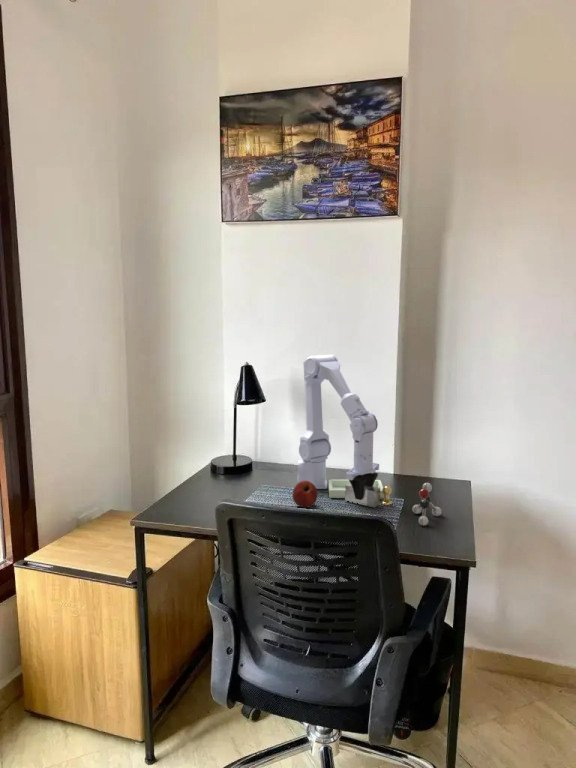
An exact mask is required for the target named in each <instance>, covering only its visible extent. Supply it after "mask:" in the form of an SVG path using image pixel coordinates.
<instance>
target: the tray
mask: <svg viewBox="0 0 576 768" xmlns="http://www.w3.org/2000/svg"><path fill="white" fill-rule="evenodd" d="M349 483H350V481H349V480H348V479H328V486H327V489H328V497H329V498H345V485H347V484H349ZM373 487H377V488H380V500H384V494H383V492H382V489H383V487H384V485H383V483H382V481H381V479H376V480H375V482H374V484H373Z"/></svg>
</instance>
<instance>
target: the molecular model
mask: <svg viewBox="0 0 576 768" xmlns="http://www.w3.org/2000/svg"><path fill="white" fill-rule="evenodd" d="M432 490H433V486H432V484H431V483H429V482H424V483H423V484H422V488H421V489H420V490H419V491H418V495H419V497H420V498H421V499H420V500H421V501H420V502H419V504H414V505H413V506H412V509H411V510H412V512H413V513H414V514H416V515H420V514H421V513H422V514H421V515H420V516H419V517H418V524H419V525H420V526H422V527H424V526H427V525H428V524H429V518H428V517H427V516H426V512H427V511H426V510H427V509H429V507H430V508H431V513H432V515H433V516H435V517H439V516H441V514H442V509H441V507H438V506H434V504H433V502H432V498H431V496H430V492H431V491H432Z"/></svg>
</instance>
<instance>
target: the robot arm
mask: <svg viewBox="0 0 576 768" xmlns="http://www.w3.org/2000/svg"><path fill="white" fill-rule="evenodd" d="M340 369H341V362H339V359H338V358H337V356H336V355H334V354H331V353H330V354H324V355H310V356H308V357H307V358H306V359H305V360H304V362H303V383H304V402H305V403H304V404H305V405H304V406H305V425H306V426H305V427H306V428H305V429H306V430H305V432H304V433H303V434H302V435H301V436H300V438H299V446H298V454H299V456H300V458H301V459H298V461H297V465H298V466H297V468H298V469H297V478H296V480H297V484H298V483H299V482H301V481H309V482H311V483H312V484H314V486H315V487H316V489H317V490H318V489H319V490H326V489H328V481H327V478H326V477H327V475H326V474H327V473H326V471H327V465H326V464H327V460H328V457H329V456H330V454H331V452H332V445H331V442H330V436H329V434H328V433H327V432H325V431H324V424H323V405H322V404H323V403H322V402H323V399H322V383H323V382H324V381H328V382H329V383H330V384H331V385H332V387H333V389H334V390H335V392H337V394H338V395H339V397H340V399H341V400H340V405H341V407H342V409H343V411H344V412H345V414H346V416H347V417H348V420H350V423H349V428H350V432H352V433H351V434H352V438H353V467H352V468H351V469H350V470H349V471H347V472H346V473H345V480H349V481H350V483H351V485H352V488H353V491H354V495H355V499H358V500H362V498H363V490H364V485H365V486H370V487H373V484H374V482H375V480H377V479H378V477H379V476H378V475H379V474H378V472H376V471H380V463H377V462H374V432H376V431H377V429H378V425H379V424H378V419H377V418H376V417H377V416H376V414H373V413H372V412H370V411H369V410H367V408H366V407H365V405H364V404H363V403H362V401H361V399H360V398H361V397H359V395H358V394H356V393H352V392H351V390H350V387H349V386H348V384H347V382H346V380H345V378H344V376H343V374H342V372H341V370H340Z"/></svg>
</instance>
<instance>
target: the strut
mask: <svg viewBox="0 0 576 768" xmlns="http://www.w3.org/2000/svg"><path fill="white" fill-rule="evenodd" d="M347 501H349V502H348V503H352V502H353V504H357V503H358V505H362V506H366V507H368V508H369V507H370V508H376V507H378V506H379V505H380V504H381V499H380V488H377V487H370V486H365V485H364V490H363V498H362V500H358V499H355V495H354V491H353V488H352V485H351V483H349V484H347V485H345V499H344V502H347Z"/></svg>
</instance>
